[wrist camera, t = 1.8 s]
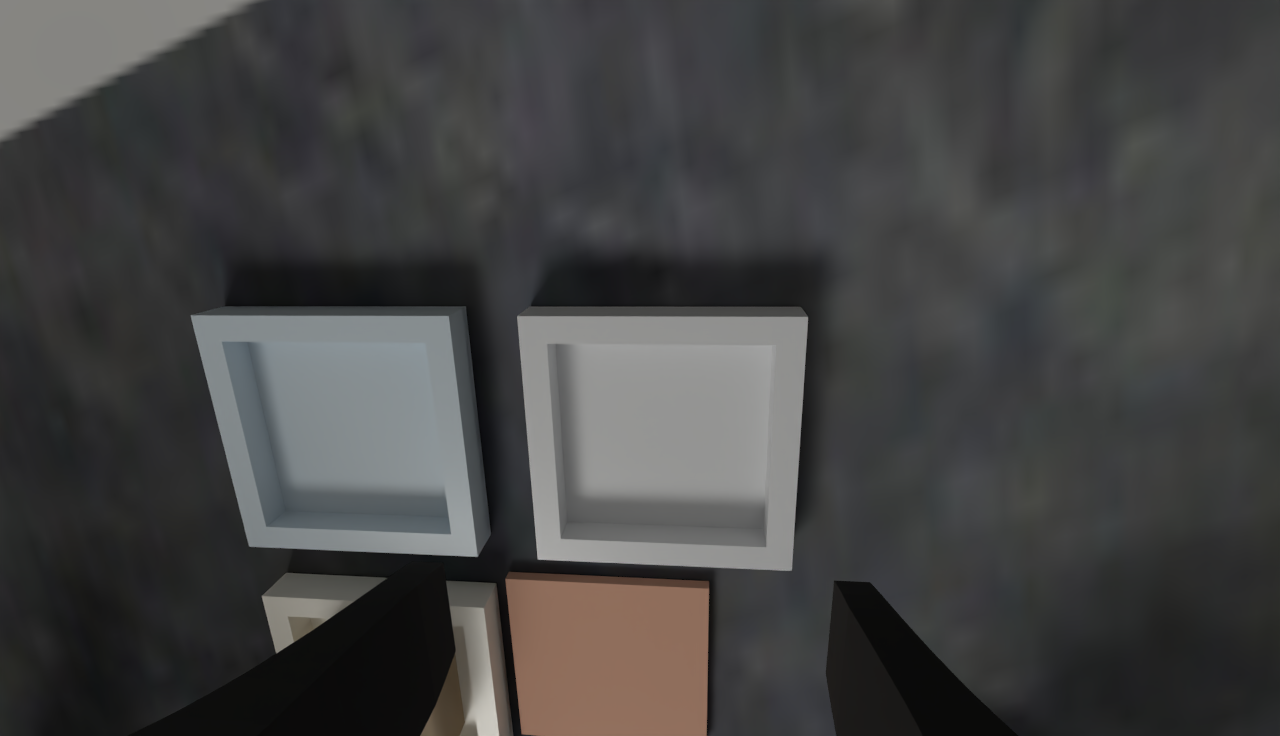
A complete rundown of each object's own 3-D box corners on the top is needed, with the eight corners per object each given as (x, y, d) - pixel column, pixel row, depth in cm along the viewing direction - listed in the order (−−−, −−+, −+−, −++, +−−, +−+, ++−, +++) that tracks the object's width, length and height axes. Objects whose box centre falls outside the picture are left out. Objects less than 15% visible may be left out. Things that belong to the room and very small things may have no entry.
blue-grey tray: (465, 306, 18) (448, 315, 17) (490, 534, 21) (477, 556, 20) (223, 306, 19) (190, 315, 18) (274, 525, 22) (249, 546, 20)
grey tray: (800, 306, 17) (808, 316, 16) (786, 546, 20) (791, 570, 19) (529, 306, 18) (517, 316, 17) (547, 536, 21) (537, 559, 19)
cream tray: (496, 583, 22) (483, 607, 20) (515, 753, 24) (504, 785, 23) (285, 572, 22) (261, 596, 21) (325, 738, 25) (304, 768, 24)
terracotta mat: (709, 581, 21) (709, 588, 20) (706, 738, 23) (706, 748, 22) (509, 571, 21) (505, 579, 21) (524, 725, 23) (521, 734, 23)
